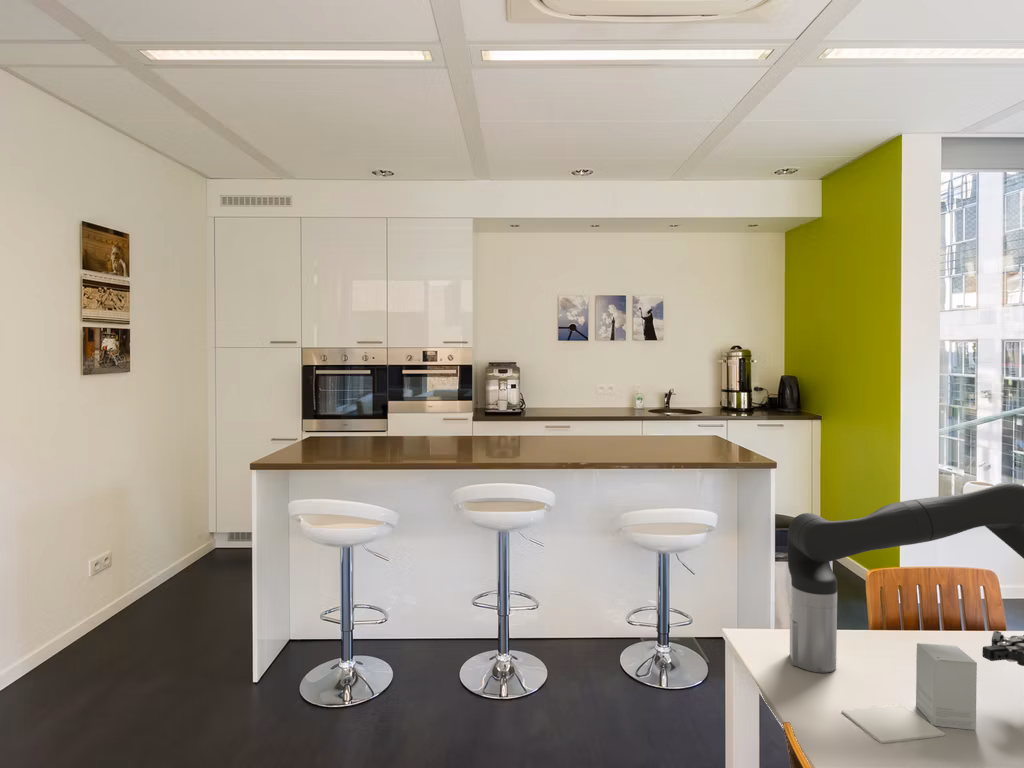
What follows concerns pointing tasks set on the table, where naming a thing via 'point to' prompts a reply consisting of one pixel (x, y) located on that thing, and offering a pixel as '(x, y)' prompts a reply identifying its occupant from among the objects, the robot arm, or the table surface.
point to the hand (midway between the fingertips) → (986, 653)
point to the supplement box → (946, 686)
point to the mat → (892, 723)
